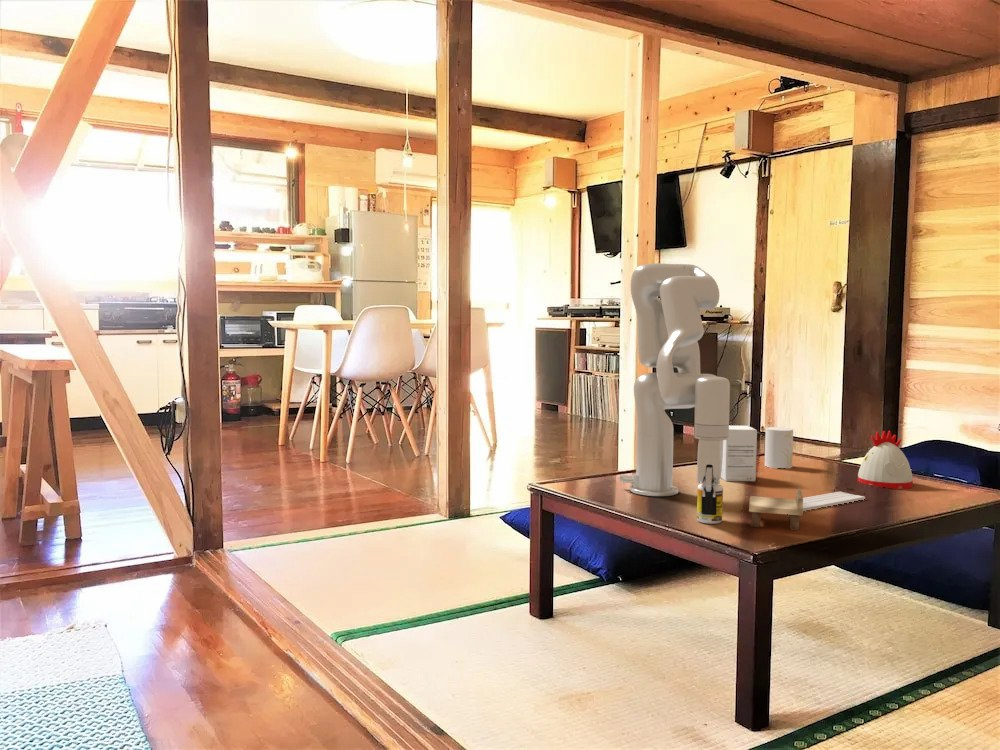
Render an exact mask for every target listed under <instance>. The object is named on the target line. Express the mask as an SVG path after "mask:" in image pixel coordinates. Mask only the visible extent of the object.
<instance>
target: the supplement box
mask: <svg viewBox="0 0 1000 750" xmlns="http://www.w3.org/2000/svg"><path fill="white" fill-rule="evenodd" d="M757 438H758V430H757V429H755V428H754V427H752V426H750V425H729V439H728V440H723V459H722V471H721V477H720V479H721V480H723V481H725V482H756V480H757V479H756V478H757V447H758V443H757V442H758V439H757Z"/></svg>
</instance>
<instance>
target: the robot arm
mask: <svg viewBox="0 0 1000 750" xmlns="http://www.w3.org/2000/svg"><path fill="white" fill-rule="evenodd" d="M630 294H631V298H632V302H633V305H634V309H635V313H636V318H637V322H636V323H637V325H636V326H637V347H638V349H637V351H638V358H639V359H638V360H639V361H640V364H641V365H642V366H644V367H647V368H656V370H655V371H656V372H649V373H648V372H647V373H643V374H641V375H640V376H638V377H637V378H636V379H635V381H634V384H633V397H634V402H635V403H634V404H635V411H636V458H635V459H636V462H635V463H636V465H635V469H636V470H635V473H632V474H631V475H628V474H620V475H619V482H620V483H621V482H622V483H625V484H629V483H630V484H631V485H630V486H629V490H630V492H632V493H633V494H635V495H641V496H647V497H671V496H674V495H675V496H676V495H678V493H679V487H677V486H676V485H673V483H674V482H673V475H674V472H673V471H674V470H673V468H674V467H673V466H674V465H673V464H674V424H673V422H672V420H671V418H670V417H669V416H668V414H667V413H666V411H665V410H672V409H673V410H674V409H675V410H676V409H683V410H684V409H692V408H694V429H693V430H694V431H693V433H694V434H693V436H694V439H696V440H698V445H697V459H696V461H697V464H696V467H697V469H696V483H697V484H701V482H702V480H703V496H702V508H701V513H702V514H704V515H716V510H717V497H716V484H718V483H719V481H721V471H722V459H723V440H728V439H729V426H730V401H731V400H730V399H731V398H730V396H731V395H730V394H731V383H730V381H729V379H728V378H726V377H724V376H723V377H722V376H717V375H715V374H712V373H701V351H700V346H699V345H700V344H699V342H698V341H700V340H701V339H702V337H703V335H705V329H704V325H703V321H702V320H703V319H702V317H701V312H700V311H711V310H714V309H715V308H716V307H717V306H718V304H719V302H720V289H719V286H718V283H717V281H716V280H715V278H713V276H711V275H710V274H709V273H708V272H706V271H705V270H704V269H702V268H701V267H699V266H698V265H695V264H689V263H688V264H687V263H659V262H657V263H655V262H654V263H645V264H641V265H639V266H637V267H636V268H635V269H634V270H633V271H632V274H631V278H630ZM659 297H660V298H659ZM674 368H676V369H677V371H678V372H674ZM705 480H706V482H705ZM712 481H714V483H712ZM712 486H713V487H712Z"/></svg>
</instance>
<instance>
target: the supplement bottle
mask: <svg viewBox="0 0 1000 750" xmlns="http://www.w3.org/2000/svg"><path fill="white" fill-rule="evenodd" d="M720 481H721V480H720ZM720 481H719V483H718V484H716V497H717V510H716V515H704V514H702V513H701V508H702V496H703V480H702V482H700V483H699V484H698V485H697V501H696V502H697V503H696V505H697V506H696V519H697V521H698V523H699V522H700V523H703V524H707V525H708V524H709V525H716V524H720V523H722V521H723V507H724V506H723V505H724V502H723V500H724V499H723V498H724V497H723V496H724V487H723V485H721V484H720V483H721V482H720ZM705 482H706V480H705ZM712 483H714V481H712ZM712 487H713V486H712Z"/></svg>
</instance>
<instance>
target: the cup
mask: <svg viewBox="0 0 1000 750" xmlns="http://www.w3.org/2000/svg"><path fill="white" fill-rule="evenodd" d="M793 442H794V429H793V428H791V427H782V426H781V427H780V426H772V427H771V426H769V427H765V441H764V447H765V448H764V467H765V466H767V467H770V468H769V469H772V468H791V467H792V468H793V456H794V455H793V452H794V451H793V450H794V448H793V446H794V443H793ZM767 467H766V468H767ZM792 468H791V469H792Z"/></svg>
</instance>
